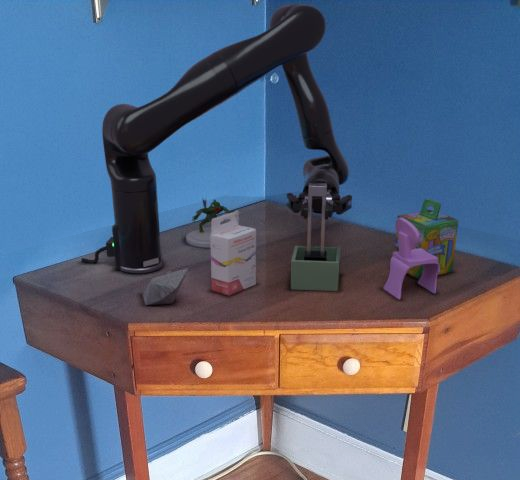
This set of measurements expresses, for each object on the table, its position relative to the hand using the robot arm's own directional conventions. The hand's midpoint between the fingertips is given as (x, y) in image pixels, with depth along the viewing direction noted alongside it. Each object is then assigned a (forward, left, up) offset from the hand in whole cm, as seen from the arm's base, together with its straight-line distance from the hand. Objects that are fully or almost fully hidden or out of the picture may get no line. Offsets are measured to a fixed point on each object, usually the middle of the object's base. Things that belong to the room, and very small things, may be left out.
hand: (316, 214), depth 156 cm
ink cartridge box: (-16, -2, -15) cm, 22 cm away
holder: (0, +3, -15) cm, 15 cm away
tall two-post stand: (0, +3, -12) cm, 12 cm away
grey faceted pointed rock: (-28, -10, -15) cm, 33 cm away
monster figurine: (-26, +28, -15) cm, 41 cm away
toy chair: (+19, 0, -15) cm, 24 cm away
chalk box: (+22, +12, -15) cm, 29 cm away
